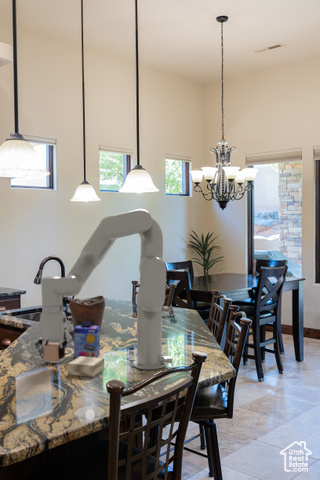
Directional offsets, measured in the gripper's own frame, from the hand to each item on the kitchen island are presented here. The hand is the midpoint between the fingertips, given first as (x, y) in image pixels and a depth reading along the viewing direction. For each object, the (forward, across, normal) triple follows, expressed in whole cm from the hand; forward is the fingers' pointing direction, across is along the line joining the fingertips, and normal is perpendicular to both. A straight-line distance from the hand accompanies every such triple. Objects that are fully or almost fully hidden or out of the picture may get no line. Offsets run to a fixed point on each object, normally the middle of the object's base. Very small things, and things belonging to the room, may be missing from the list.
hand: (54, 356), depth 181 cm
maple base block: (+5, -13, 0) cm, 14 cm away
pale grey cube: (+4, +5, -10) cm, 12 cm away
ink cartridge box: (+5, -4, -20) cm, 21 cm away
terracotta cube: (+1, 0, 0) cm, 1 cm away
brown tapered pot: (+5, +16, -64) cm, 66 cm away
